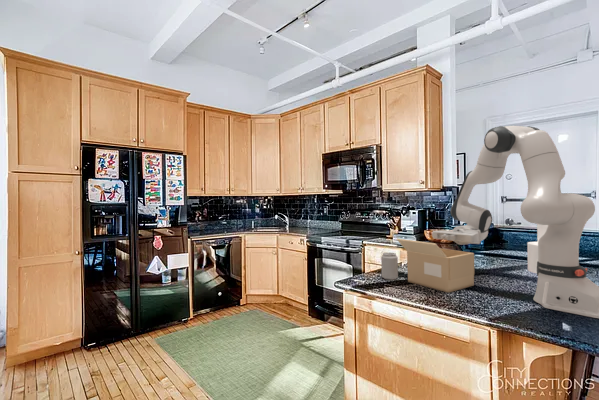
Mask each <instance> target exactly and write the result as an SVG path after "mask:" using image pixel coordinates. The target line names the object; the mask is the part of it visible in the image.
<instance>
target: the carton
mask: <svg viewBox="0 0 599 400" xmlns="http://www.w3.org/2000/svg"><path fill="white" fill-rule="evenodd" d="M439 248H440V249H441V250H442V251H443V252H444V254H445V255H446V256H447V257H440V256H434V255H428V254H422V253H416V252H410V251H407V250H406V258H407V261H406V262H407V265H406V267H407V268H406V269H407V282H408V283H410V284H411V283H412V284H415V285H418V286H419V285H420V286H422V287H427V288H430V289H433V290H437V291H441V292H445V293H452V292H456V291H459V290H463V289H466V288H469V287H473V286H475V283H474V281H475V253H474V252H470V251H464V250H463V251H462V250H457V249H449V248H443V247H439Z"/></svg>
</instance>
